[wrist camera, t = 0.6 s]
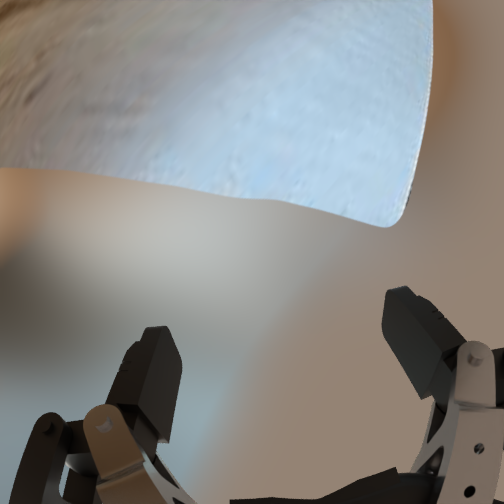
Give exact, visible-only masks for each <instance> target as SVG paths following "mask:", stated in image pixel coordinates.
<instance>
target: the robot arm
mask: <svg viewBox="0 0 504 504" xmlns="http://www.w3.org/2000/svg"><path fill="white" fill-rule="evenodd" d="M382 332H383V335H384V338H385V340H386V341H387V343H388V344H389V346H390V348H391V349H392V351H393V352H394V354H395V356H396V357H397V359H398V361H399V362H400V364H401V366H402V367H403V369H404V371H405V372H406V374H407V376H408V378H409V379H410V381H411V383H412V384H413V386H414V388H415V390H416V391H417V393H418V395H419V397H420V399H421V400H422V399H424V398H427V397H429V396H431V395H432V396H433V397H434V399H435V400H434V402H433V404H432V408H431V412H430V417H429V421H428V425H427V430H426V433H425V437H424V441H423V444H422V447H421V450H420V452H419V454H418V456H417V457H416V459H415V461H414V463H413V466H412V468H411V471H410V473H398V472H397V469H396V467H394V468H391V469H389V470H386V471H383V472H380V473H378V474H375V475H372V476H369V477H365V478H362V479H359V480H357V481H355V482H353V483H351V484H349V485H347V486H345V487H343V488H341V489H339V490H337V491H335V492H333V493H331V494H329V495H327V496H324V497H323V498H319V499H313V500H311V499H288V498H275V497H268V498H256V499H239V500H237V499H235V500H230V504H504V502H502V501H499V500H495V499H494V495H495V491H496V487H497V482H498V477H499V471H500V466H501V459H502V452H503V450H504V348H499V349H494V350H490V348H489V347H488V346H487V345H485V344H483V343H481V342H478V341H468V342H467V341H466V340H465V339H464V337H463V336H462V335H461V334H460V333H459V332H458V331H457V329H456V328H455V327H454V326H453V325H452V324H451V323H450V322H449V321H448V320H447V318H444V315H443V314H442V313H441V312H440V311H438V309H437V308H436V307H435V306H434V305H433V304H432V303H431V302H430V301H429V300H427V299H425V298H423V297H421V296H416V295H415V294H414V293H413V292H412V291H411V289H409V287H407V286H402V287H398V288H394V289H390V290H387V292H386V295H385V303H384V310H383V317H382ZM181 374H182V360H181V357H180V355H179V352H178V349H177V347H176V345H175V343H174V340H173V338H172V335H171V333H170V330H169V329H168V327H167V326H157V327H147V328H146V329H145V330H144V333H143V335H142V338H141V340H140V341H136V342H135V343H134V344H133V345H132V346H131V347H130V348H129V349H128V350H127V352H126V354H125V356H124V358H123V361H122V364H121V365H120V368H119V372H117V375H116V377H115V380H114V382H113V385H112V387H111V390H110V392H109V395H108V397H107V400H106V402H105V404H103V405H99V406H96V407H94V408H93V409H91V410H90V411H89V412H88V413H87V415H86V416H85V419H84V420H78V421H71V422H65V421H64V420H63V419H62V417H60V415H58V414H57V413H53V412H49V413H46V414H44V415H42V416H41V417H40V418H39V419H38V420H37V421H36V423H35V425H34V427H33V430H32V432H31V435H30V437H29V440H28V443H27V445H26V448H25V451H24V453H23V456H22V459H21V462H20V465H19V468H18V471H17V475H16V478H15V481H14V485H13V489H12V492H11V496H10V500H9V504H102V503H103V504H197V503H196V502H195V501H194V500H193V499H192V498H191V497H190V496H189V495H188V494H187V493H186V492H185V491H184V490H183V488H182V487H181V486H180V484H179V483H178V482H177V480H176V479H175V478H174V476H173V475H172V473H171V472H170V470H169V469H168V468H167V466H166V465H165V463H164V462H163V460H162V458H161V457H160V455H159V454H158V453H157V451H156V448H157V443H169V440H170V434H171V428H172V423H173V417H174V411H175V406H176V400H177V395H178V390H179V385H180V379H181ZM65 464H66V465H67V466H68V467H70V468H69V472H68V477H67V480H66V485H65V489H64V494H63V497H61V496H60V493H59V484H60V480H61V475H62V472H63V468H64V465H65Z"/></svg>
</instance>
